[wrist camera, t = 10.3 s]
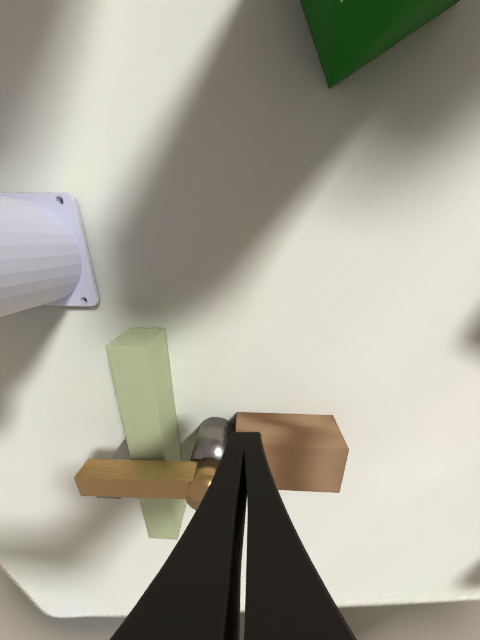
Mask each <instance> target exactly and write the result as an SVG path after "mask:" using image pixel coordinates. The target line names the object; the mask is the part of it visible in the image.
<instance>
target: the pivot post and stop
mask: <svg viewBox="0 0 480 640" xmlns="http://www.w3.org/2000/svg"><path fill="white" fill-rule="evenodd" d="M231 432H235V428H234V426H233V425H232V424H231V423H230V422H229V421H228V420H226V419H223V418H219V417H213V418H209V419H206V420H205V421H203V422H202V424H201V425H200V428H199V432H198V435H197V439H196V442H195V446H194V450H193V453H192V457H191V461H193V462H198V461H199V460H202V459H206V458H211V459H216V460H218V461H220V460H221V458H222V455H223V453H224V450H225V447H226V444H227V441H228V438H229V434H230V433H231ZM113 459H121V460H131V457H130V452H129V448H128V444H127V439H126V438H125V440H124V442H123V443H122V445H121V446H120V448H119V449H118V451H117V453H116V454H115V456H114V457H113ZM97 498H114V499H121V497H109V496H97Z"/></svg>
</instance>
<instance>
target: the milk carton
mask: <svg viewBox="0 0 480 640" xmlns="http://www.w3.org/2000/svg"><path fill="white" fill-rule="evenodd" d="M300 1H301V4H302V7H303V10H304V13H305V16H306V19H307V22H308V25H309V28H310V31H311V34H312V37H313V40H314V43H315V46H316V49H317V52H318V55H319V58H320V61H321V64H322V67H323V70H324V73H325V76H326V79H327V82H328V85H329V88H331V87H333V86H334V85H336V84H337V83H339V82H340V81H341V80H343V79H344V78H346V77H347V76H349V75H350V74H352V73H353V72H355V71H356V70H358V69H359V68H361V67H362V66H364V65H365V64H367V63H368V62H370V61H371V60H372V59H374V58H375V57H377V56H378V55H380V54H381V53H383V52H384V51H386V50H387V49H389V48H390V47H392V46H393V45H395V44H396V43H398V42H399V41H401V40H402V39H403V38H405V37H406V36H408V35H409V34H411V33H412V32H414V31H415V30H417V29H418V28H420V27H421V26H423V25H424V24H426V23H427V22H429V21H430V20H432V19H433V18H434V17H436V16H437V15H439V14H440V13H442V12H443V11H445V10H446V9H448V8H449V7H451V6H452V5H454V4H455V3H457V2H458V1H460V0H300Z"/></svg>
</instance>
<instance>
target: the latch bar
mask: <svg viewBox="0 0 480 640" xmlns="http://www.w3.org/2000/svg"><path fill="white" fill-rule="evenodd" d="M219 463H220V461H218V460H216V459H211V458H206V459H202V460H199V461H198V462H193V461H157V460H121V459H88V460H87V461H86V463H85V464H84V465H83V467H82V468H81V469H80V471H79V472H78V473H77V475H76V476H75V477H74V479H75V482H76V484H77V487H78V489H79V492H80V494H81V495H82V496H109V497H136V498H163V499H186V500H187V503H188V504H189V505H190V506H191V507H192V508H193V509H195V510H197V509H198V507H199V505H200V503H201V501H202V499H203V497H204V495H205V493H206V491H207V489H208V487H209V485H210V483H211V481H212V479H213V476H214V474H215V472H216V470H217V467H218V465H219Z"/></svg>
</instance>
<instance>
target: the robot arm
mask: <svg viewBox="0 0 480 640" xmlns="http://www.w3.org/2000/svg"><path fill="white" fill-rule="evenodd" d="M61 198H62V199H63V204H61ZM84 297H85V298H86V299H87V302H86V301H85V300H84ZM98 303H99V297H98V292H97V288H96V283H95V278H94V274H93V269H92V265H91V260H90V256H89V251H88V247H87V242H86V237H85V233H84V228H83V224H82V219H81V215H80V210H79V206H78V201H77V199H76V197H75V196H74V195H73V194H70V193H66V192H48V193H0V317H3V316H7V315H10V314H13V313H17V312H20V311H23V310H26V309H30V308H33V307H36V306H95V305H97V304H98ZM247 499H248V528H247V567H246V600H245V633H244V640H357V639H356V638H355V636H354V635H353V633H352V631H351V630H350V628H349V626H348V624H347V623H346V621H345V619H344V618H343V616H342V615H341V613H340V611H339V609H338V608H337V606H336V604H335V602H334V601H333V599H332V597H331V595H330V594H329V592H328V590H327V588H326V586H325V585H324V583H323V581H322V579H321V577H320V576H319V574H318V572H317V570H316V569H315V567H314V565H313V563H312V561H311V559H310V558H309V556H308V554H307V552H306V550H305V548H304V546H303V544H302V542H301V540H300V538H299V536H298V534H297V532H296V530H295V528H294V526H293V524H292V522H291V519H290V517H289V515H288V513H287V511H286V508H285V506H284V504H283V501H282V499H281V497H280V494H279V492H278V489H277V487H276V484H275V482H274V479H273V476H272V473H271V471H270V468H269V465H268V462H267V458H266V455H265V452H264V448H263V443H262V438H261V433H259V432H231V433H230V434H229V438H228V441H227V444H226V447H225V450H224V453H223V455H222V458H221V460H220V463H219V465H218V467H217V470H216V472H215V474H214V476H213V479H212V481H211V483H210V485H209V487H208V489H207V491H206V493H205V495H204V497H203V499H202V501H201V503H200V505H199V507H198V509H197V510H196V512H195V514H194V516H193V518H192V519H191V521H190V523H189V525H188V526H187V528H186V530H185V531H184V533H183V535H182V536H181V538H180V540H179V541H178V543H177V544H176V546H175V548H174V549H173V551H172V552H171V554H170V556H169V557H168V559H167V560H166V562H165V563H164V565H163V566H162V568H161V569H160V571H159V572H158V574H157V575H156V577H155V578H154V580H153V581H152V582H151V584H150V585H149V587H148V588H147V590H146V591H145V592H144V594H143V595H142V597H141V598H140V599H139V601H138V602H137V604H136V605H135V607H134V608H133V609H132V611H131V612H130V613H129V615H128V616H127V618H126V619H125V620H124V622H123V623H122V624H121V626H120V627H119V628H118V629H117V631H116V632H115V633H114V635H113V636H112V637H111V639H110V640H239V631H240V628H239V627H240V581H241V560H242V548H243V536H244V524H245V512H246V500H247Z"/></svg>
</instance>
